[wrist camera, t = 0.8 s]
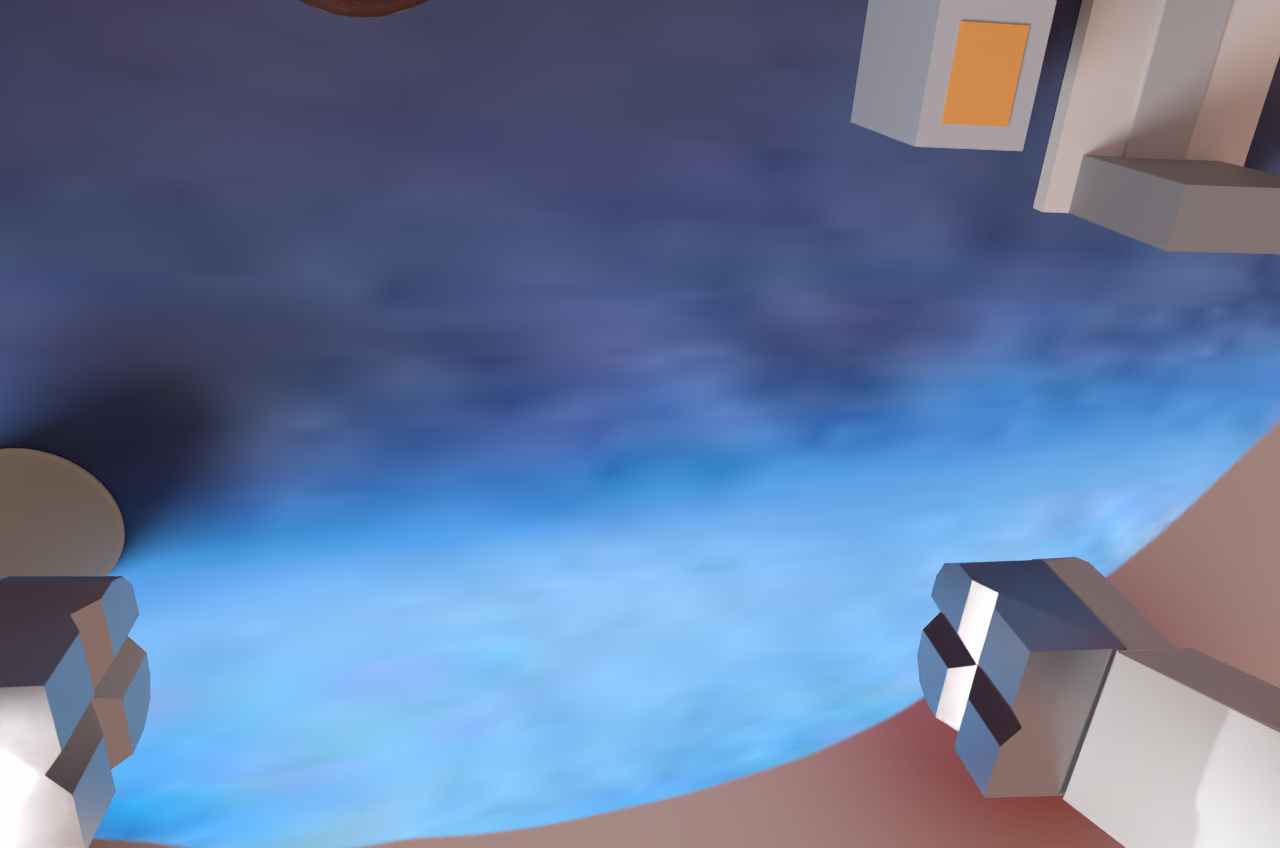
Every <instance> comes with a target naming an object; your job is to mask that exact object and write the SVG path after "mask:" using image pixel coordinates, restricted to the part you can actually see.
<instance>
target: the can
mask: <svg viewBox="0 0 1280 848" xmlns="http://www.w3.org/2000/svg"><path fill="white" fill-rule="evenodd" d="M124 539H125V529H124V522H123V518H122V515H121V512H120V510H119V507H118V505H117V503H116V502H115V500H114V498H113V497H112V495H111V494H110V493H109V491H108V490H107V489H106V488H105V487H104V485H103V484H102V483H101V482H100V481H99V480H97V479H96V478H95V477H94V476H93V475H92V474H90V473H89V472H88V471H86V470H85V469H83V468H81V467H80V466H78V465H76V464H74V463H73V462H71V461H69V460H67V459H64V458H62V457H59V456H57V455H54V454H51V453H47V452H43V451H39V450H32V449H24V448H4V449H0V576H2V577H6V578H7V577H9V576H107V575H108V574H109V573H110V571H111V570H112V569H113V568H114V567H115V565H116V563H117V562H118V560H119V558H120V556H121V553H122V550H123V546H124Z"/></svg>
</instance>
